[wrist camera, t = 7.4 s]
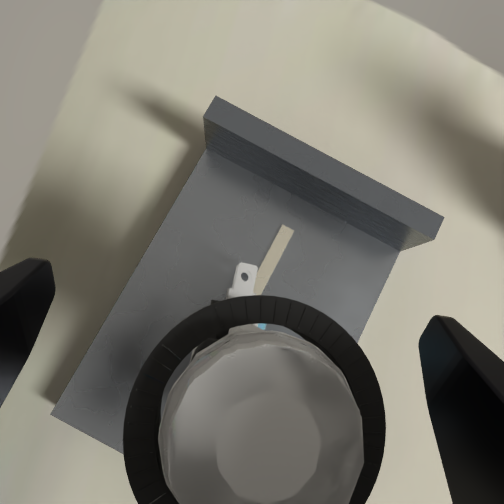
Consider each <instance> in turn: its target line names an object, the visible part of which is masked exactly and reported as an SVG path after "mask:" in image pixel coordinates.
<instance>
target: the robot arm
mask: <svg viewBox="0 0 504 504" xmlns="http://www.w3.org/2000/svg"><path fill="white" fill-rule="evenodd" d="M54 295H55V282H54V277H53V272H52V266H51V263H50V262H49V261H48V260H45V259H38V258H28V259H26V260H24V261H22V262H20V263H18V264H16V265H14V266H12V267H9V268H7V269H5V270H3V271H1V272H0V407H1V405H2V404H3V402H4V400H5V398H6V397H7V395H8V393H9V391H10V389H11V388H12V386H13V384H14V382H15V380H16V379H17V377H18V375H19V373H20V372H21V370H22V368H23V366H24V364H25V363H26V361H27V359H28V357H29V355H30V353H31V351H32V348H33V346H34V344H35V341H36V339H37V337H38V334H39V332H40V329H41V327H42V325H43V322H44V320H45V317H46V315H47V313H48V310H49V308H50V305H51V303H52V301H53V298H54ZM419 353H420V360H421V367H422V373H423V380H424V387H425V394H426V400H427V406H428V410H429V414H430V418H431V422H432V426H433V430H434V433H435V437H436V441H437V445H438V449H439V453H440V456H441V460H442V464H443V468H444V472H445V476H446V479H447V483H448V487H449V491H450V495H451V498H452V502H453V504H504V362H503V361H502V360H501V359H500V358H499V357H498V356H497V355H495V354H494V353H493V352H492V351H491V350H490V349H488V348H487V347H486V346H485V345H484V344H483V343H482V342H480V341H479V340H478V339H477V338H476V337H475V336H473V335H472V334H471V333H470V332H469V331H468V330H467V329H465V328H464V327H463V326H462V325H461V324H460V323H458V322H457V321H456V320H455V319H454V318H452V317H447V316H440V315H435V316H433V317H432V318H431V320H430V321H429V323H428V325H427V327H426V328H425V330H424V332H423V333H422V335H421V337H420V340H419Z"/></svg>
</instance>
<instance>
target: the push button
mask: <svg viewBox="0 0 504 504" xmlns="http://www.w3.org/2000/svg"><path fill="white" fill-rule="evenodd" d="M257 270H258V268H257V266H256V265H251V264H247V263H242V262H241V263H239V264H238V265H237V266H236V270H235V274H234V279H233V284H232V288H229V289H228V290H227V295H226V299H225V300H222V301H217V300H211V303H210V305H208V306H206V307H204V308H202V309H200V310H198V311H196V312H194V313H193V314H191V315H190V316H188V317H187V318H185V319H184V320H182V321H181V322H180V323H179V324H177V325H176V326H175V327H174V328H173V329H171V330H170V331H169V332H168V333H167V334H166V335H165V336H164V338H163V339H162V340H161V341H160V342H159V343H158V344H157V346H156V347H155V348H154V349H153V351H152V352H151V353H150V355H149V356H148V358H147V360H146V361H145V363H144V364H143V366H142V368H141V370H140V372H139V374H138V376H137V378H136V380H135V382H134V385H133V387H132V390H131V393H130V396H129V400H128V403H127V407H126V412H125V419H124V427H123V453H124V461H125V467H126V472H127V475H128V479H129V483H130V486H131V488H132V491H133V494H134V496H135V499H136V500H137V502H138V504H365V503H366V501H367V499H368V497H369V496H370V493H371V491H372V489H373V487H374V484H375V482H376V479H377V476H378V473H379V470H380V467H381V463H382V458H383V454H384V446H385V433H386V422H385V410H384V404H383V398H382V394H381V390H380V386H379V383H378V381H377V378H376V375H375V373H374V370H373V368H372V366H371V364H370V362H369V360H368V359H367V357H366V355H365V354H364V352H363V351H362V349H361V348H360V346H359V345H358V344H357V342H356V341H355V340H354V339H353V337H352V336H351V335H350V334H349V333H348V332H347V331H346V330H345V329H344V328H343V327H342V326H340V325H339V324H338V323H337V322H336V321H334V320H333V319H332V318H330V317H329V316H327V315H326V314H324V313H323V312H321V311H319V310H317V309H315V308H313V307H311V306H309V305H307V304H304V303H301V302H299V301H295V300H292V299H288V298H284V297H277V296H268V295H256V293H253V289H254V285H255V280H256V275H257ZM242 273H246V274H247V275H248V280H247V281H243V280H242V278H241V274H242ZM266 324H274V325H280V326H284V327H286V328H288V329H290V330H292V331H293V332H295V333H297V334H298V335H300V336H301V337H302V338H303V339H304V340H302V339H299V338H297V337H294V336H291V335H289V334H286V333H283V332H278V331H264V329H265V328H266ZM305 340H306V341H305ZM192 350H193V351H192ZM191 351H192V355H191V360H190V364H189V365H188V367H187V368H186V369H185V371H184V372H183V373H182V374H181V376H180V377H179V378H178V379H177V381H176V382H175V383H174V385H173V387H172V388H171V390H170V392H169V394H168V397H167V401H166V405H165V408H164V412H163V416H162V419H161V403H162V396H163V392H164V388H165V386H166V384H167V382H168V380H169V378H170V377H171V375H172V374H173V372H174V370H175V369H176V368H177V366H178V365H179V364H180V363H181V361H182V360H183V359H184V358H185V357H186V356H187V355H188V354H189V353H190V352H191Z"/></svg>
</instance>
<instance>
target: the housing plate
mask: <svg viewBox="0 0 504 504" xmlns="http://www.w3.org/2000/svg"><path fill="white" fill-rule="evenodd" d="M203 120H204V130H205V140H206V149H205V151H204V153H203V155H202V156H201V158H200V160H199V161H198V163H197V165H196V167H195V168H194V170H193V172H192V173H191V175H190V177H189V179H188V180H187V182H186V184H185V185H184V187H183V189H182V190H181V192H180V194H179V196H178V197H177V199H176V201H175V202H174V204H173V206H172V208H171V209H170V211H169V213H168V214H167V216H166V218H165V219H164V221H163V223H162V225H161V226H160V228H159V230H158V231H157V233H156V235H155V237H154V238H153V240H152V242H151V243H150V245H149V247H148V248H147V250H146V252H145V254H144V255H143V257H142V259H141V260H140V262H139V264H138V266H137V267H136V269H135V271H134V272H133V274H132V276H131V277H130V279H129V281H128V283H127V284H126V286H125V288H124V289H123V291H122V293H121V295H120V296H119V298H118V300H117V301H116V303H115V305H114V306H113V308H112V310H111V312H110V313H109V315H108V317H107V318H106V320H105V322H104V324H103V325H102V327H101V329H100V330H99V332H98V334H97V335H96V337H95V339H94V341H93V342H92V344H91V346H90V347H89V349H88V351H87V353H86V354H85V356H84V358H83V359H82V361H81V363H80V364H79V366H78V368H77V370H76V371H75V373H74V375H73V376H72V378H71V380H70V382H69V383H68V385H67V387H66V388H65V390H64V392H63V393H62V395H61V397H60V399H59V400H58V402H57V404H56V405H55V407H54V409H53V411H52V412H51V414H50V415H52V416H54V417H56V418H58V419H59V420H61V421H63V422H65V423H67V424H69V425H71V426H72V427H74V428H76V429H78V430H80V431H82V432H84V433H85V434H87V435H89V436H91V437H93V438H95V439H96V440H98V441H100V442H102V443H104V444H106V445H108V446H109V447H111V448H113V449H115V450H117V451H119V452H121V453H122V454H124V453H123V427H124V419H125V412H126V407H127V403H128V400H129V396H130V393H131V390H132V387H133V385H134V382H135V380H136V378H137V376H138V374H139V372H140V370H141V368H142V366H143V364H144V363H145V361H146V360H147V358H148V356H149V355H150V353H151V352H152V351H153V349H154V348H155V347H156V346H157V344H158V343H159V342H160V341H161V340H162V339H163V338H164V336H165V335H166V334H167V333H168V332H169V331H170V330H171V329H173V328H174V327H175V326H176V325H177V324H179V323H180V322H181V321H182V320H184V319H185V318H187V317H188V316H190V315H191V314H193V313H194V312H196V311H198V310H200V309H202V308H204V307H206V306H208V305H210V303H211V300H217V301H222V300H225V299H226V295H227V290H228V289H229V288H232V284H233V279H234V274H235V270H236V266H237V265H238V264H239V263H241V262H242V263H247V264H251V265H256V266H257V268H258V270H257V275H256V280H255V285H254V289H253V293H256V295H268V296H277V297H284V298H288V299H292V300H295V301H299V302H301V303H304V304H307V305H309V306H311V307H313V308H315V309H317V310H319V311H321V312H323V313H324V314H326V315H327V316H329V317H330V318H332V319H333V320H334V321H336V322H337V323H338V324H339V325H340V326H342V327H343V328H344V329H345V330H346V331H347V332H348V333H349V334H350V335H351V336H352V337H353V339H354V340H355V341H356V342H358V340H359V338H360V336H361V334H362V332H363V330H364V327H365V325H366V323H367V321H368V319H369V317H370V315H371V313H372V310H373V308H374V306H375V304H376V302H377V300H378V298H379V295H380V293H381V291H382V289H383V287H384V285H385V283H386V280H387V278H388V276H389V274H390V272H391V270H392V268H393V265H394V263H395V261H396V259H397V257H398V255H399V253H400V251H403V250H406V249H409V248H412V247H415V246H417V245H420V244H423V243H426V242H429V241H432V240H434V239H435V237H436V235H437V233H438V230H439V228H440V226H441V224H442V222H443V219H444V217H443V216H441V215H439V214H437V213H435V212H433V211H432V210H430V209H428V208H426V207H424V206H422V205H420V204H418V203H417V202H415V201H413V200H411V199H409V198H407V197H405V196H403V195H402V194H400V193H398V192H396V191H394V190H392V189H390V188H388V187H386V186H385V185H383V184H381V183H379V182H377V181H375V180H373V179H371V178H370V177H368V176H366V175H364V174H362V173H360V172H358V171H356V170H355V169H353V168H351V167H349V166H347V165H345V164H343V163H341V162H340V161H338V160H336V159H334V158H332V157H330V156H328V155H326V154H325V153H323V152H321V151H319V150H317V149H315V148H313V147H311V146H309V145H308V144H306V143H304V142H302V141H300V140H298V139H296V138H294V137H293V136H291V135H289V134H287V133H285V132H283V131H281V130H279V129H278V128H276V127H274V126H272V125H270V124H268V123H266V122H264V121H263V120H261V119H259V118H257V117H255V116H253V115H251V114H249V113H247V112H246V111H244V110H242V109H240V108H238V107H236V106H234V105H232V104H231V103H229V102H227V101H225V100H223V99H221V98H219V97H217V96H215V98H214V99H213V101H212V103H211V104H210V106H209V108H208V109H207V111H206V113H205V114H204V116H203ZM241 278H242V280H243V281H247V280H248V275H247V274H246V273H242V274H241ZM264 331H278V332H283V333H286V334H289V335H291V336H294V337H297V338H299V339H302V340H304V339H303V338H302V337H301V336H300V335H298V334H297V333H295V332H293V331H292V330H290V329H288V328H286V327H284V326H280V325H274V324H266V328H265V329H264ZM305 341H306V340H305ZM192 351H193V350H192ZM192 351H191V352H190V353H189V354H188V355H187V356H186V357H185V358H184V359H183V360H182V361H181V363H180V364H179V365H178V366H177V368H176V369H175V370H174V372H173V374H172V375H171V377H170V378H169V380H168V382H167V384H166V386H165V388H164V392H163V396H162V403H161V419H162V416H163V412H164V408H165V405H166V401H167V397H168V394H169V392H170V390H171V388H172V387H173V385H174V383H175V382H176V381H177V379H178V378H179V377H180V376H181V374H182V373H183V372H184V371H185V369H186V368H187V367H188V365H189V364H190V360H191V355H192Z"/></svg>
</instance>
